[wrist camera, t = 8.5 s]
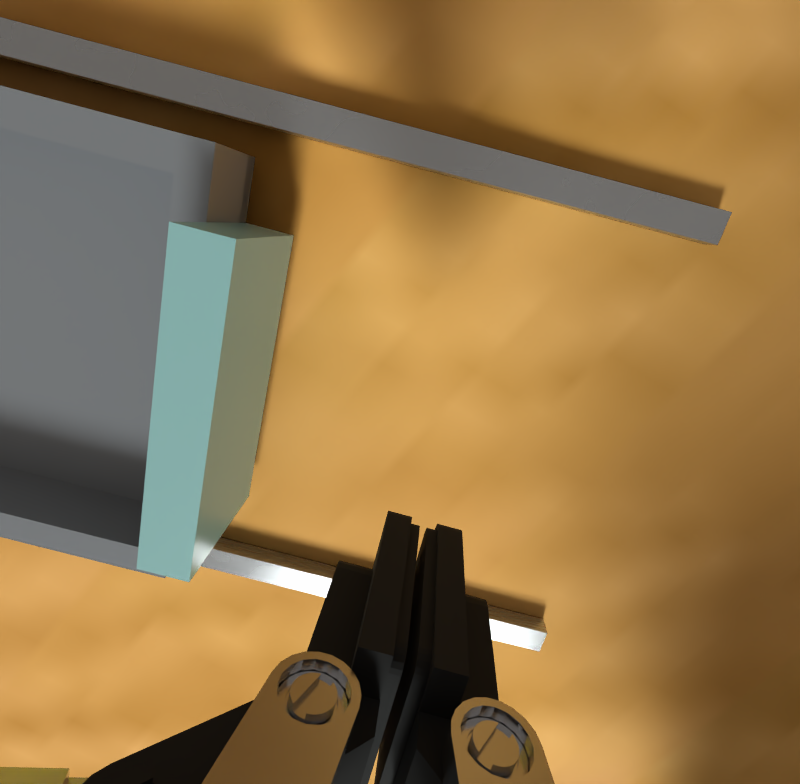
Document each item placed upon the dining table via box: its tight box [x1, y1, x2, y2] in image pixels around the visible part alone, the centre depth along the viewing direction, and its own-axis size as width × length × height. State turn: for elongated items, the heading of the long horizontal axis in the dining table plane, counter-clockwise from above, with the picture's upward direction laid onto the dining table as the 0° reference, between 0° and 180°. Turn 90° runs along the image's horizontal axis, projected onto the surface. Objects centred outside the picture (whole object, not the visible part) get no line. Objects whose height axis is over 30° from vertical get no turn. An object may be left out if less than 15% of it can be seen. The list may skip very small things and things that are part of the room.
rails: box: [0, 17, 732, 651], centre depth 17 cm, size 36×18×3 cm, turn 76°
